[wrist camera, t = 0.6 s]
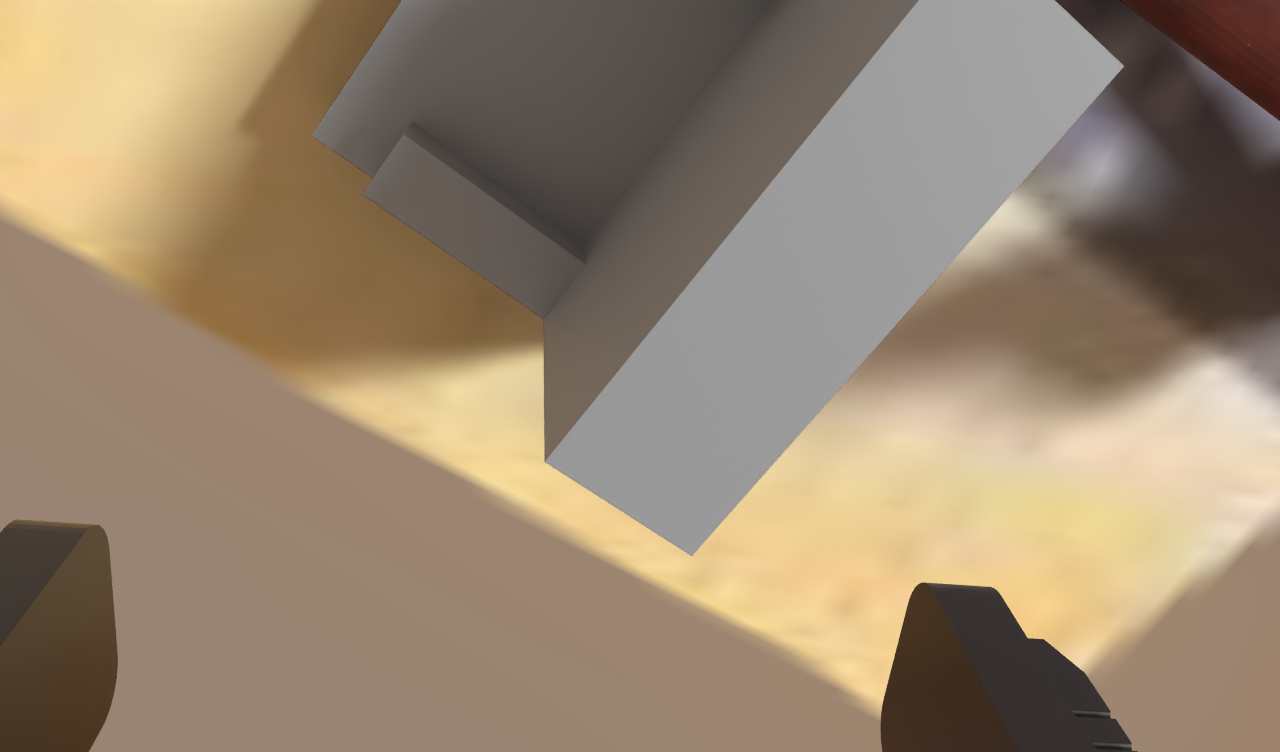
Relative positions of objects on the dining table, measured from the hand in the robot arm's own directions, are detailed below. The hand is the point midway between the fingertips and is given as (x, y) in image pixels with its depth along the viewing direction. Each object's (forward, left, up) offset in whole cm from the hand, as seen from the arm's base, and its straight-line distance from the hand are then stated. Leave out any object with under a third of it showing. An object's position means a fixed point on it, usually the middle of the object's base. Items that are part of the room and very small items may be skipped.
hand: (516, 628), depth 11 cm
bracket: (-4, +2, -26) cm, 26 cm away
